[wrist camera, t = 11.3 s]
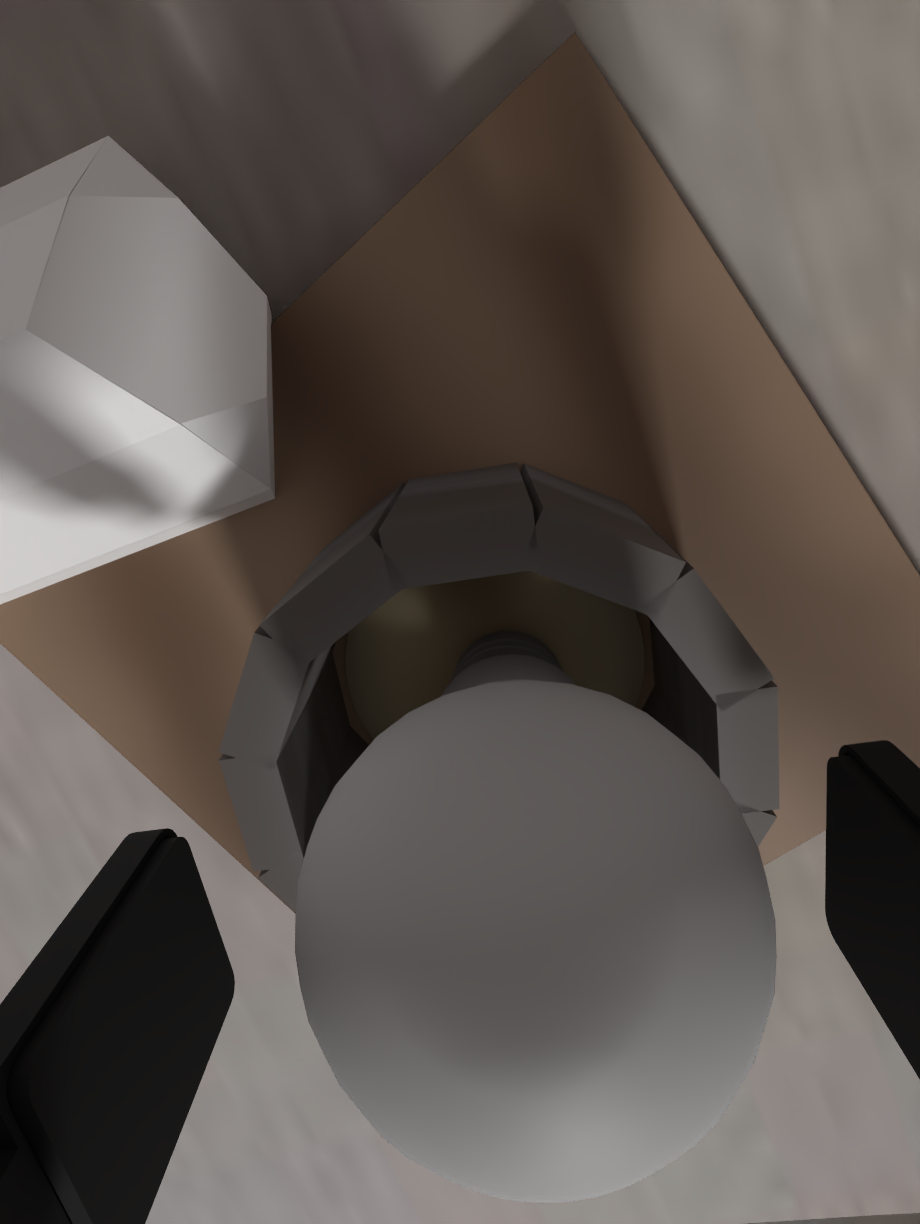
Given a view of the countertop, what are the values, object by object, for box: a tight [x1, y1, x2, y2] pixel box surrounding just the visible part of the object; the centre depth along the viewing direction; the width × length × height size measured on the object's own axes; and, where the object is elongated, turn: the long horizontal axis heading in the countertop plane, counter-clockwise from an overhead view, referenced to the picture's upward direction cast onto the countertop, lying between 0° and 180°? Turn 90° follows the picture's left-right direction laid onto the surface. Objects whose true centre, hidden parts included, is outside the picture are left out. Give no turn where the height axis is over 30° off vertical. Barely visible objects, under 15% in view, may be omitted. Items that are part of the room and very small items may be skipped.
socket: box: [0, 33, 920, 914], centre depth 15 cm, size 18×18×6 cm
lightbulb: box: [295, 631, 776, 1203], centre depth 12 cm, size 6×6×11 cm
